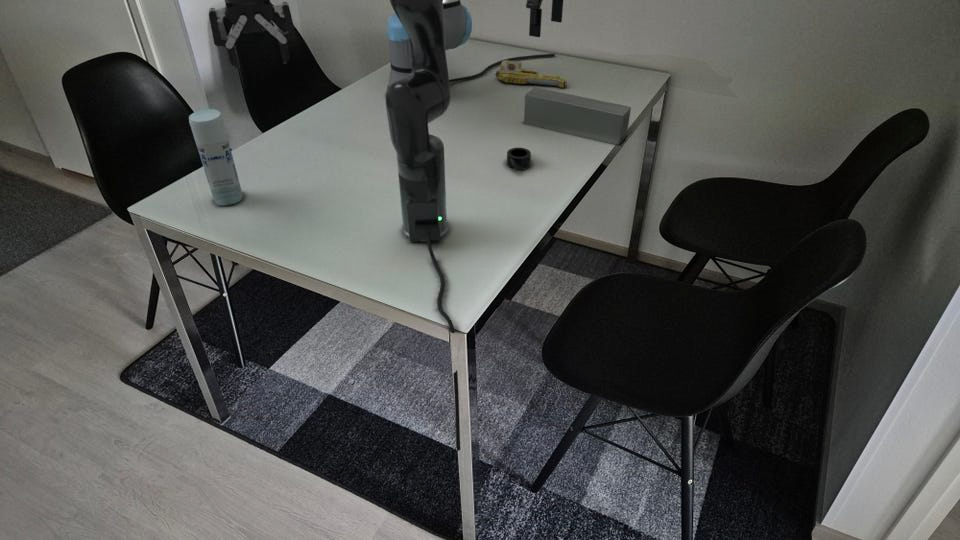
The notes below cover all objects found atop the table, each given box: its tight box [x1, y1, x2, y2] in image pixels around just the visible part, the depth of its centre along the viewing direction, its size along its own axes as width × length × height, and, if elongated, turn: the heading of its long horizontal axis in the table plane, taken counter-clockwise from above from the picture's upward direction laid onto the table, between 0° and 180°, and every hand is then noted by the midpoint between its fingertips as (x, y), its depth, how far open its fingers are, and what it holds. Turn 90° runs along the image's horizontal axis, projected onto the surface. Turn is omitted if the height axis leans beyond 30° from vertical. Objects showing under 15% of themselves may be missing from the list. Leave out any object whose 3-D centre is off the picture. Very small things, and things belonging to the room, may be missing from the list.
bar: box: [523, 86, 632, 146], centre depth 168 cm, size 28×6×8 cm, turn 61°
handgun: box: [494, 59, 567, 89], centre depth 199 cm, size 2×23×15 cm
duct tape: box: [506, 147, 532, 171], centre depth 154 cm, size 8×10×3 cm
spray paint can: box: [188, 108, 244, 206], centre depth 136 cm, size 6×6×20 cm
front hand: (261, 64), depth 117 cm, fingers open, 8 cm apart
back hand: (545, 28), depth 159 cm, fingers open, 13 cm apart
